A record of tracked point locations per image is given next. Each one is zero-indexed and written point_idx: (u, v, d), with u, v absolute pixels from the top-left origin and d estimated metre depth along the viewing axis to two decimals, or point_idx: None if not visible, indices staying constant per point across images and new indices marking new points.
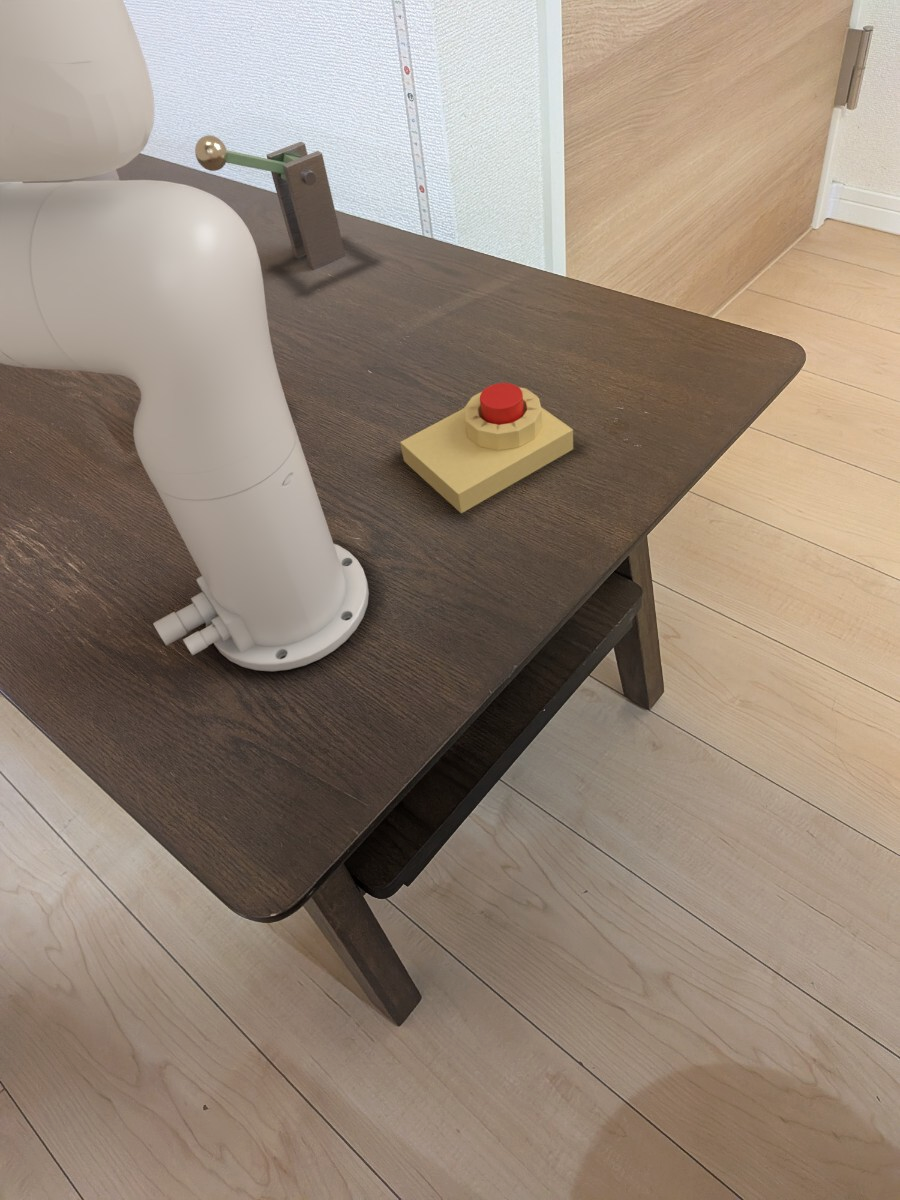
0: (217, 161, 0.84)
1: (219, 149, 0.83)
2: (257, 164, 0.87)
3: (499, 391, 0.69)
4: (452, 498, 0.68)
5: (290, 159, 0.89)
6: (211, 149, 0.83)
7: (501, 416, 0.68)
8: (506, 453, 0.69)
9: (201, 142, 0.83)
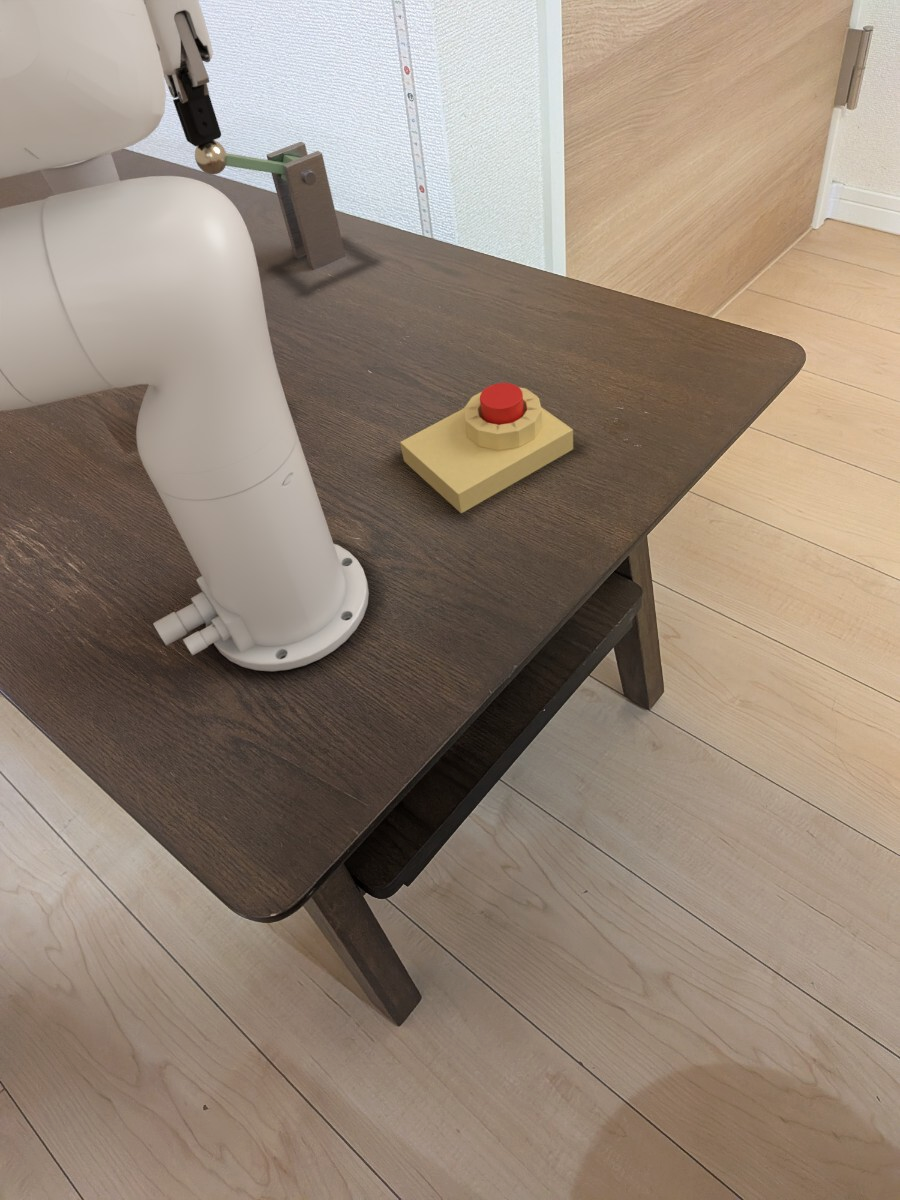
0: (217, 165, 0.84)
1: (218, 153, 0.83)
2: (257, 166, 0.87)
3: (499, 391, 0.69)
4: (452, 498, 0.68)
5: (290, 159, 0.89)
6: (210, 153, 0.83)
7: (501, 416, 0.68)
8: (506, 453, 0.69)
9: (200, 146, 0.83)
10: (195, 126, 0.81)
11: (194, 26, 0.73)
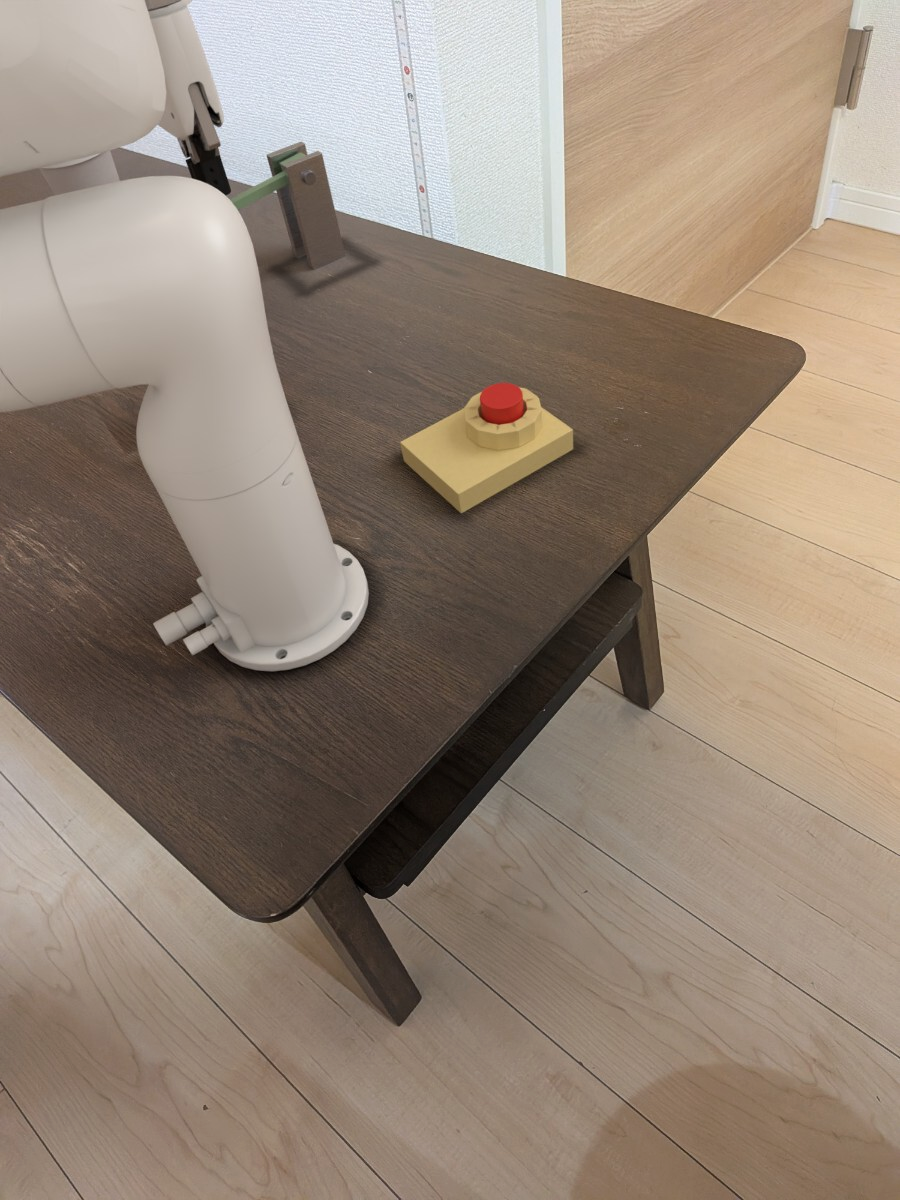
0: None
1: None
2: (261, 193, 0.89)
3: (499, 391, 0.69)
4: (452, 498, 0.68)
5: None
6: None
7: (501, 416, 0.68)
8: (506, 453, 0.69)
9: None
10: None
11: (207, 95, 0.77)
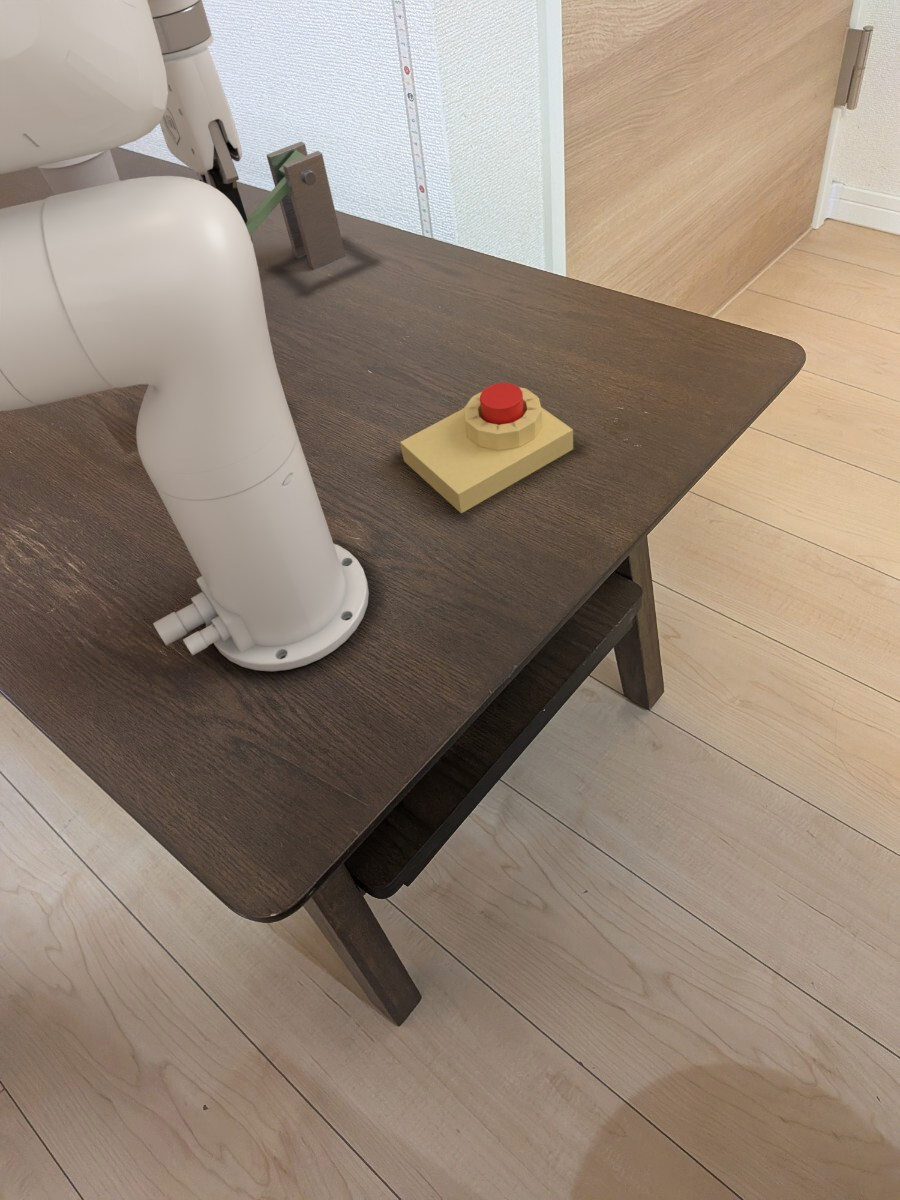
0: None
1: None
2: (269, 207, 0.90)
3: (499, 391, 0.69)
4: (452, 498, 0.68)
5: None
6: None
7: (501, 416, 0.68)
8: (506, 453, 0.69)
9: None
10: None
11: (226, 132, 0.79)
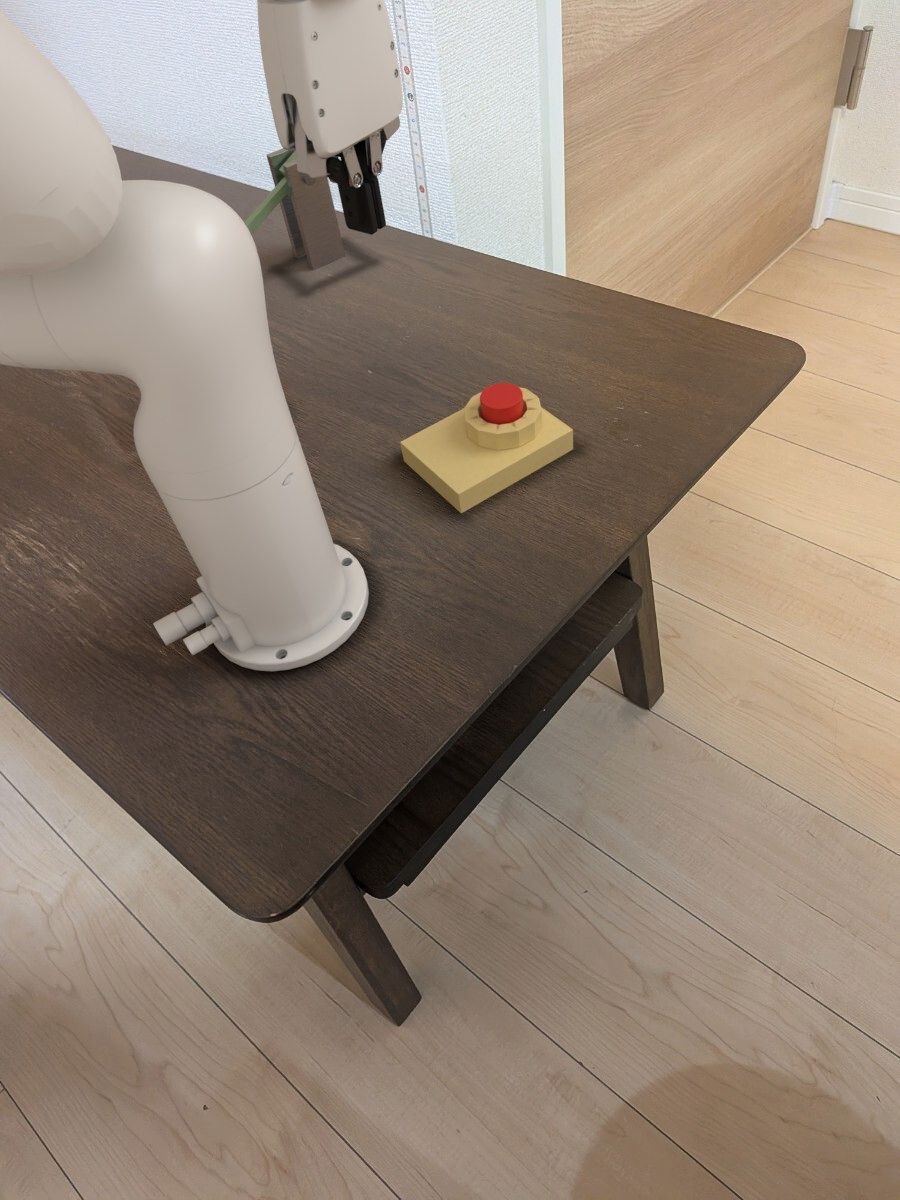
0: None
1: None
2: (269, 207, 0.90)
3: (499, 391, 0.69)
4: (452, 498, 0.68)
5: None
6: None
7: (501, 416, 0.68)
8: (506, 453, 0.69)
9: None
10: None
11: (300, 115, 0.59)
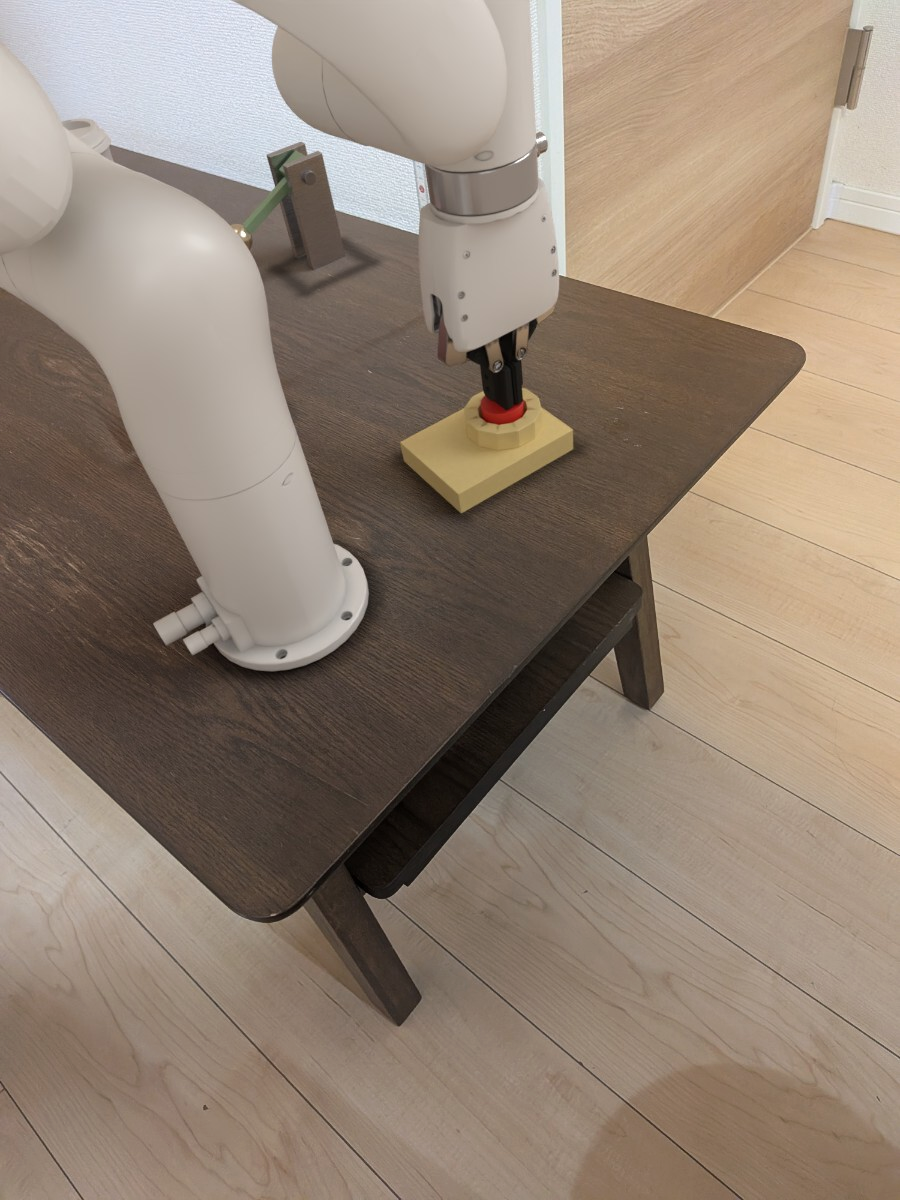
0: (246, 245, 0.90)
1: None
2: (269, 207, 0.90)
3: None
4: (452, 498, 0.68)
5: None
6: None
7: (502, 422, 0.69)
8: (506, 453, 0.69)
9: None
10: None
11: (444, 316, 0.60)
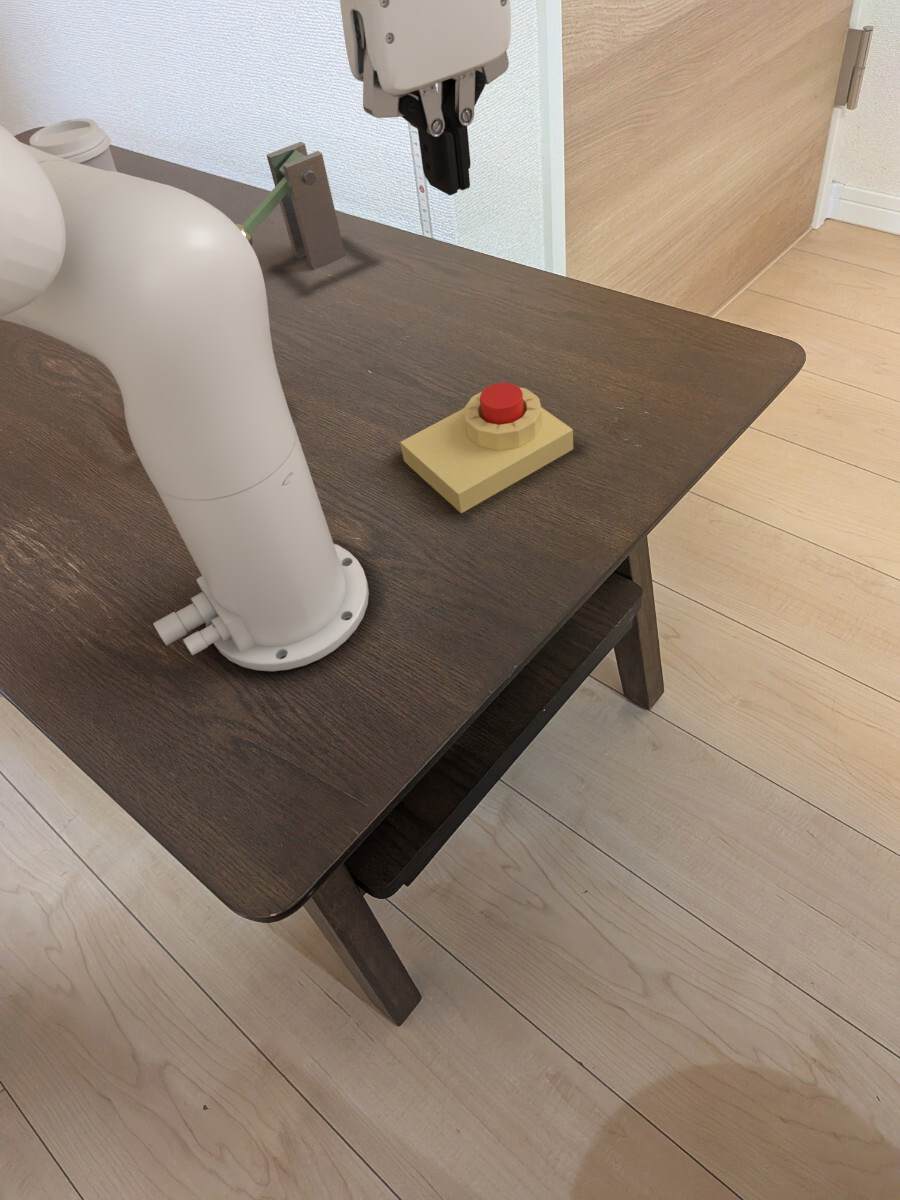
0: None
1: None
2: (269, 207, 0.90)
3: (499, 391, 0.69)
4: (452, 498, 0.68)
5: None
6: None
7: (501, 416, 0.68)
8: (506, 453, 0.69)
9: None
10: None
11: (366, 39, 0.49)
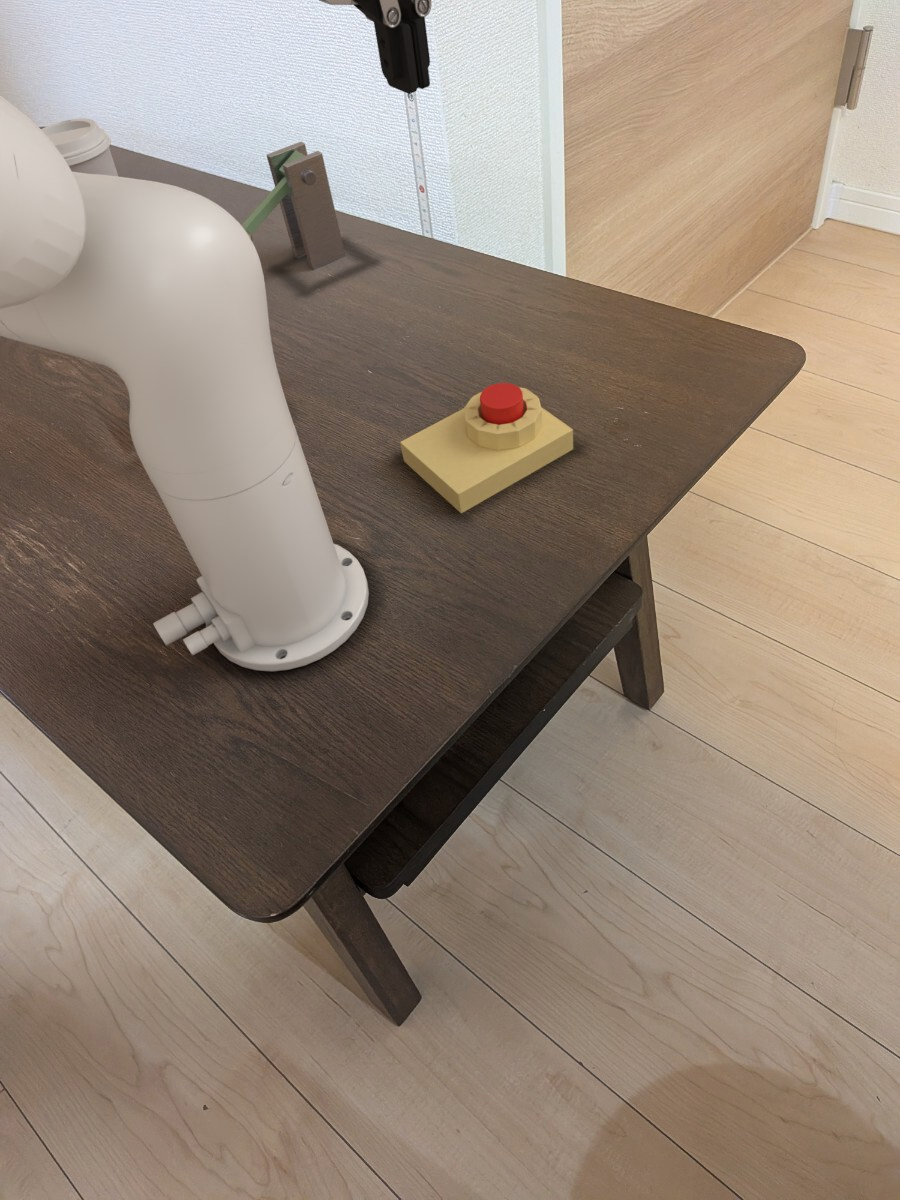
0: None
1: None
2: (269, 207, 0.90)
3: (499, 391, 0.69)
4: (452, 498, 0.68)
5: None
6: None
7: (501, 416, 0.68)
8: (506, 453, 0.69)
9: None
10: None
11: None
